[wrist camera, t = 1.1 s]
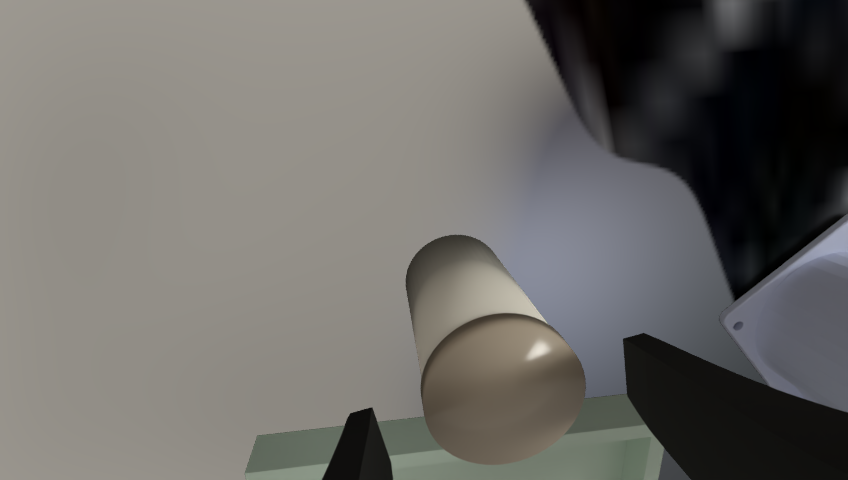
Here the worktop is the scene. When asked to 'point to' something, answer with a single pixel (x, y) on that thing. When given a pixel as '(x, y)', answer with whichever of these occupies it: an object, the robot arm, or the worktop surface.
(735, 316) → the robot arm
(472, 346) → the spice pot
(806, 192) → the worktop surface
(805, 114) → the worktop surface
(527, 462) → the tray
